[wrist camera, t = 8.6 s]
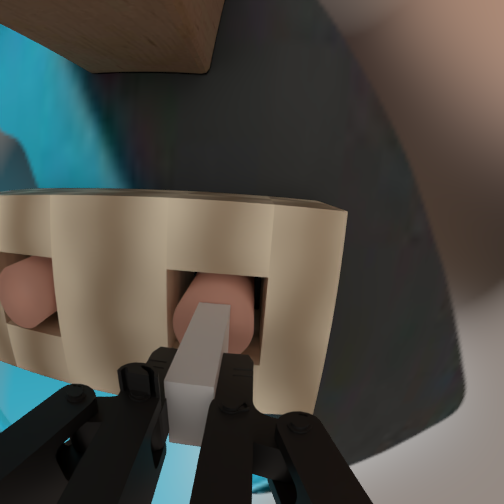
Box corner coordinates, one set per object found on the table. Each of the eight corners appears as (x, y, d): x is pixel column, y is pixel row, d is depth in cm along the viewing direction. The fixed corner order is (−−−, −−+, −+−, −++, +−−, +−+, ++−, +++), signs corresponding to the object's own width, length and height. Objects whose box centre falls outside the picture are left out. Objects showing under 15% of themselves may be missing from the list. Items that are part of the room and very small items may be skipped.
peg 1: (61, 285, 24) (3, 322, 16) (58, 238, 23) (-6, 262, 15) (101, 291, 24) (47, 333, 16) (99, 241, 23) (38, 268, 15)
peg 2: (198, 302, 24) (173, 356, 16) (200, 249, 23) (172, 284, 15) (252, 306, 24) (250, 364, 16) (256, 253, 23) (257, 291, 15)
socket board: (37, 317, 25) (-13, 355, 17) (28, 188, 23) (-36, 196, 15) (298, 351, 25) (312, 414, 18) (317, 200, 23) (347, 211, 15)
